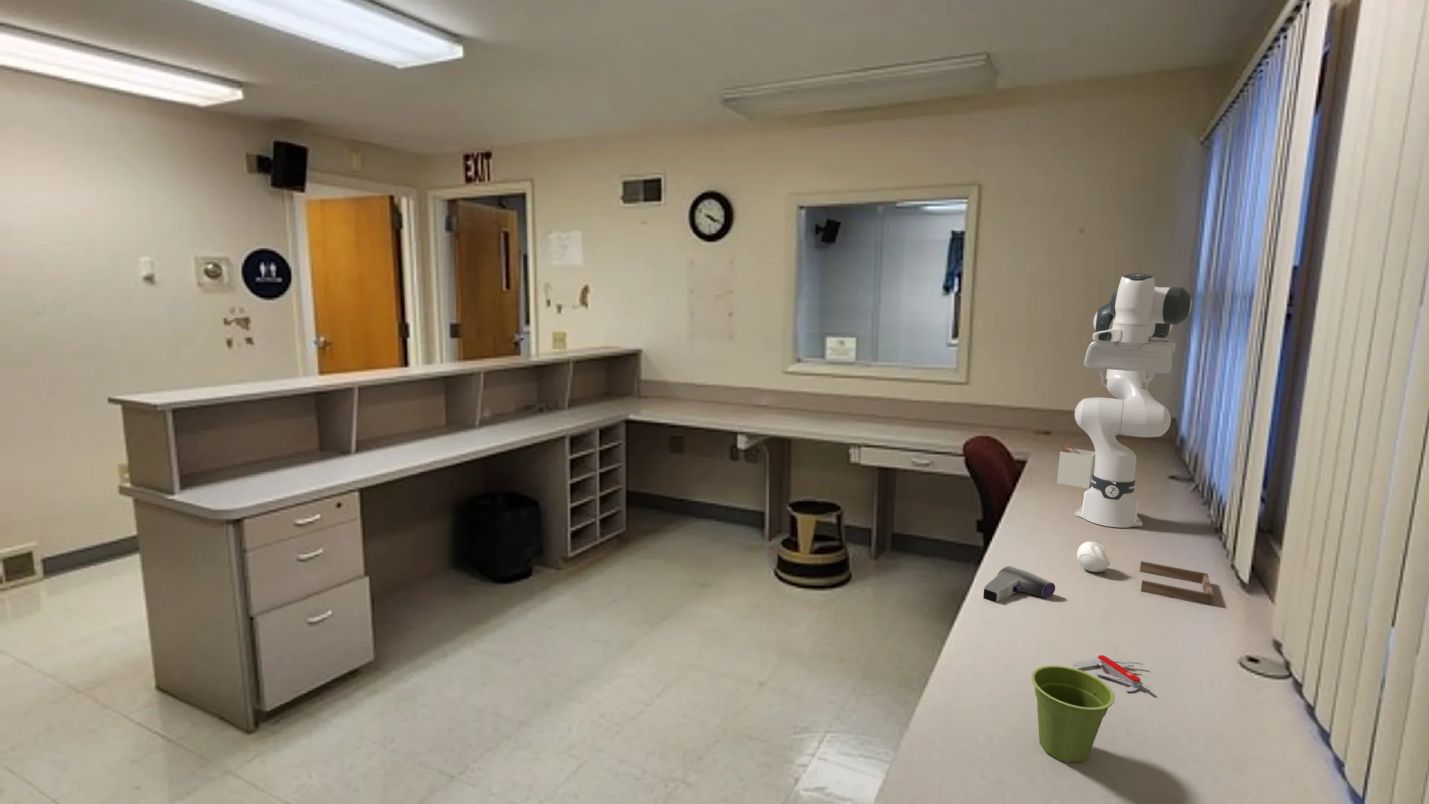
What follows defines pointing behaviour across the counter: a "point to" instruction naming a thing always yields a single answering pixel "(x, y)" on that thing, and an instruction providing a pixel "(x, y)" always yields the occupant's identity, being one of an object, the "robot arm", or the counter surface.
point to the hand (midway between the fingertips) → (1123, 387)
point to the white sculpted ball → (1092, 557)
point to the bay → (1177, 592)
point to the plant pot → (1069, 710)
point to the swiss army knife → (1116, 671)
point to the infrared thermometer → (1016, 584)
